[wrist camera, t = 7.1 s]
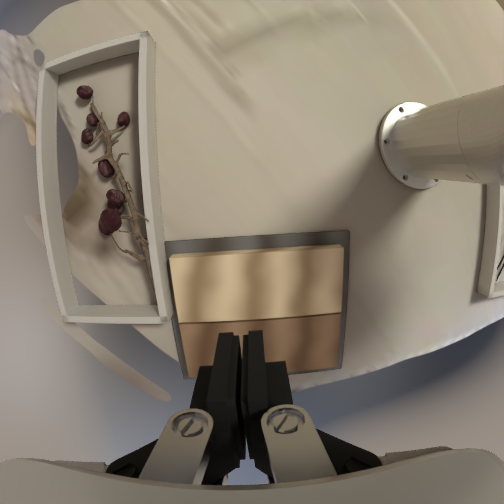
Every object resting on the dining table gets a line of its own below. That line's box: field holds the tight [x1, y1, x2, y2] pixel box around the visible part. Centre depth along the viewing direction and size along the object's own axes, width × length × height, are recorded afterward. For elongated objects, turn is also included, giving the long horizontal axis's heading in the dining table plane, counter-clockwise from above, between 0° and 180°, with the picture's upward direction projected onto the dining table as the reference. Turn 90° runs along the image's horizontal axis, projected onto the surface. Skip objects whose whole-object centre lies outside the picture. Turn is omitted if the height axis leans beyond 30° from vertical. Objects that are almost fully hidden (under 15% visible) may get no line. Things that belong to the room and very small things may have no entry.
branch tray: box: [36, 31, 174, 324], centre depth 35 cm, size 17×38×4 cm, turn 3°
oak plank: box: [169, 244, 344, 323], centre depth 40 cm, size 22×9×2 cm, turn 93°
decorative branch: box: [77, 86, 155, 291], centre depth 35 cm, size 11×9×30 cm
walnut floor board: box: [164, 231, 350, 379], centre depth 41 cm, size 25×22×2 cm
